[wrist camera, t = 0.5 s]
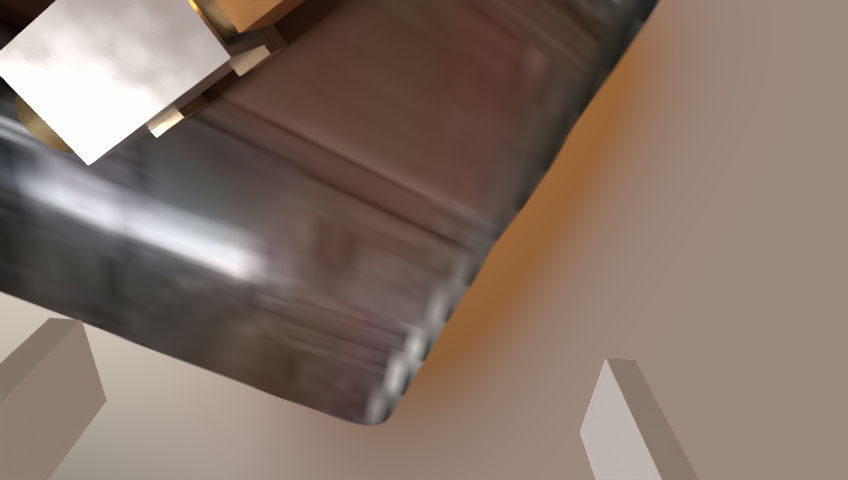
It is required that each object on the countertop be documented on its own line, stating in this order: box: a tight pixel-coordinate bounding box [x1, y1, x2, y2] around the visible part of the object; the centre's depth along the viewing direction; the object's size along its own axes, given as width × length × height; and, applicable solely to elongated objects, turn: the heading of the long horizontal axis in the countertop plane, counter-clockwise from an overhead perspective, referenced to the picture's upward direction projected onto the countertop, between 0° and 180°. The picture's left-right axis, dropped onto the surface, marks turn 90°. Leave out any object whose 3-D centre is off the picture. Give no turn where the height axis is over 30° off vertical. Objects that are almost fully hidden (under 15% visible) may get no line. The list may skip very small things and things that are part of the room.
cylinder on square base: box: [15, 0, 305, 153], centre depth 25 cm, size 5×20×6 cm, turn 122°
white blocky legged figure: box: [0, 0, 288, 165], centre depth 28 cm, size 7×10×10 cm
